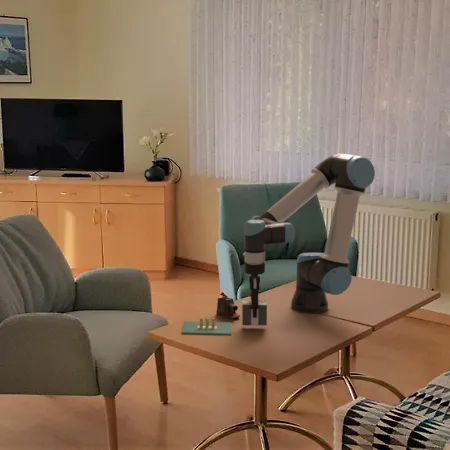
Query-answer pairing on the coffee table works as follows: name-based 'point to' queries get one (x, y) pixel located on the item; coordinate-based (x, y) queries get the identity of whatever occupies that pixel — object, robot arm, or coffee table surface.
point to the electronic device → (227, 308)
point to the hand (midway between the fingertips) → (254, 322)
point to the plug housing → (247, 313)
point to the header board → (207, 327)
